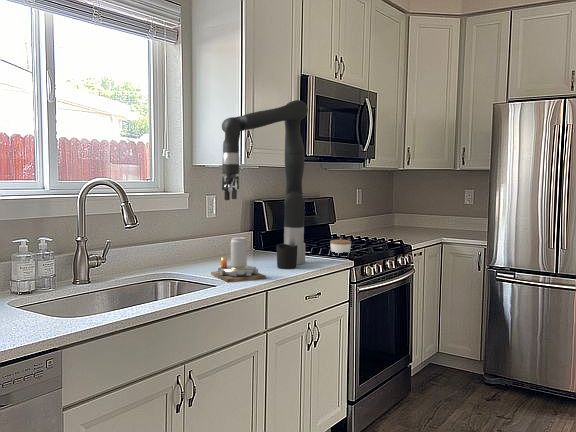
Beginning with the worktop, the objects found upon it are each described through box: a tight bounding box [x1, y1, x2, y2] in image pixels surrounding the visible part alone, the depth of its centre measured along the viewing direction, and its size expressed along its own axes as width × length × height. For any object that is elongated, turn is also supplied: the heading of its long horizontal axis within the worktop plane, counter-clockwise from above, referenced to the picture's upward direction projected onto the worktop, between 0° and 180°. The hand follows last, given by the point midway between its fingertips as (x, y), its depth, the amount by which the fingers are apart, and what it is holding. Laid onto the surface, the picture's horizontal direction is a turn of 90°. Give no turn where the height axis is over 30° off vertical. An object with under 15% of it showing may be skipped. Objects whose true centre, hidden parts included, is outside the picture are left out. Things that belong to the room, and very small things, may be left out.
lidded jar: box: [330, 237, 352, 253], centre depth 284 cm, size 11×11×9 cm
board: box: [210, 270, 267, 283], centre depth 225 cm, size 17×17×1 cm
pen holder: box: [276, 243, 298, 270], centre depth 248 cm, size 9×9×10 cm
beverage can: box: [230, 236, 248, 268], centre depth 224 cm, size 6×6×12 cm
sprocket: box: [217, 257, 259, 276], centre depth 225 cm, size 16×16×6 cm
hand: (230, 199), depth 246 cm, fingers open, 8 cm apart
